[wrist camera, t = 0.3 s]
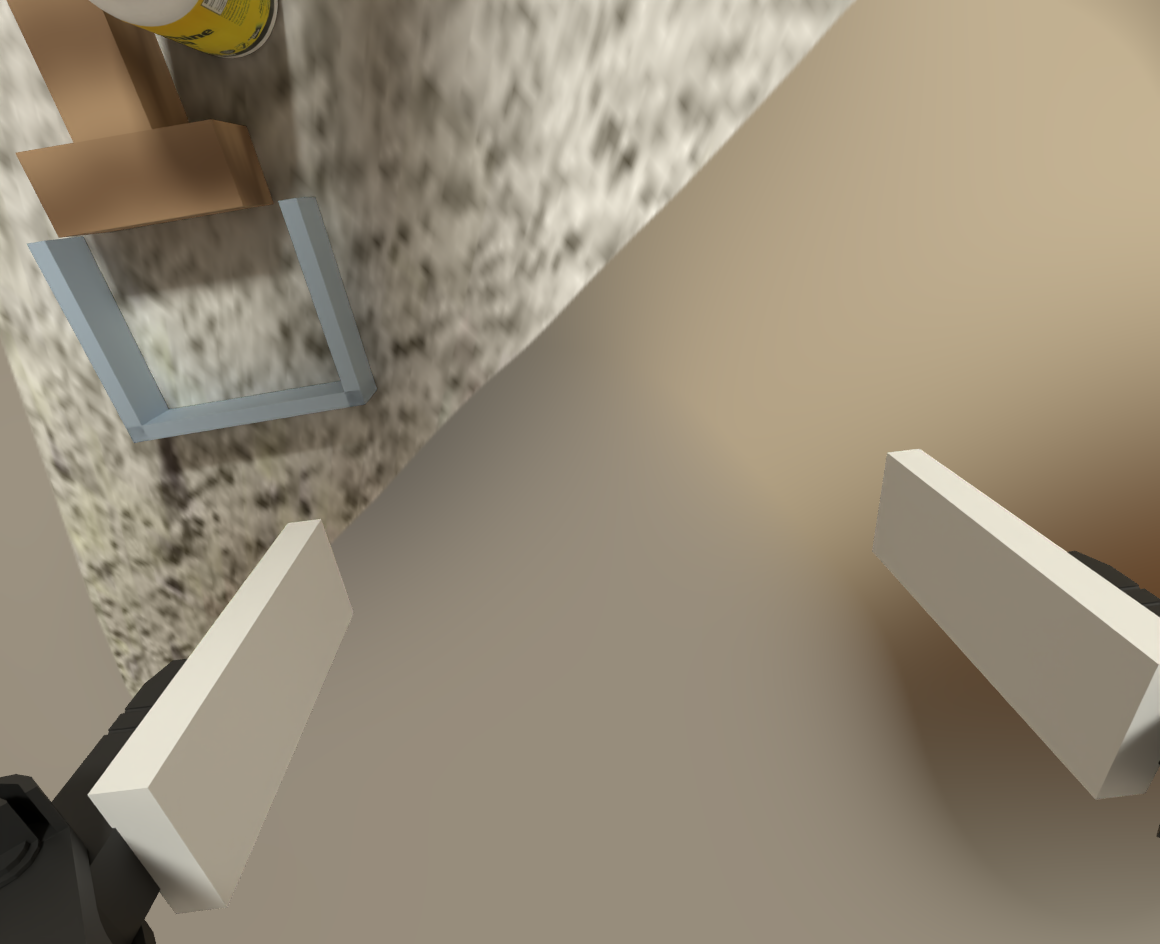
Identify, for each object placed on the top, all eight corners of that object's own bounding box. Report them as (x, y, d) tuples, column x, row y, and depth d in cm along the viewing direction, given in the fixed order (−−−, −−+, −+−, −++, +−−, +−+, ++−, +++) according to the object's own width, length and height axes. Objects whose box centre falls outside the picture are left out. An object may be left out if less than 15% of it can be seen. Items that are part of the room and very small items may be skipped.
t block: (-13, -23, 29) (-90, -52, 26) (182, -58, 29) (132, -91, 26) (108, 232, 35) (58, 237, 31) (274, 203, 35) (243, 206, 31)
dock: (66, 239, 35) (26, 243, 32) (315, 196, 34) (295, 197, 32) (161, 425, 40) (134, 442, 37) (377, 389, 40) (365, 404, 37)
